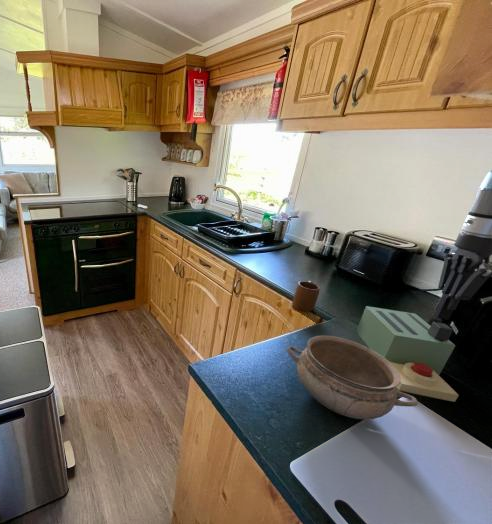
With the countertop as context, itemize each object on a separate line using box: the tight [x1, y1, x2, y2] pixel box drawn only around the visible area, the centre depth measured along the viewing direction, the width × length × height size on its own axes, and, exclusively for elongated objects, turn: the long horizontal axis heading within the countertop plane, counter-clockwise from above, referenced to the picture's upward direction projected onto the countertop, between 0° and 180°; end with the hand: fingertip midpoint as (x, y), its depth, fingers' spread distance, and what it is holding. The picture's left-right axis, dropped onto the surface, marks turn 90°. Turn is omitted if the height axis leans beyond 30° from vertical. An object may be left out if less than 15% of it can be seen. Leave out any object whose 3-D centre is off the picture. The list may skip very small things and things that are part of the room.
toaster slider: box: [428, 321, 454, 341], centre depth 79 cm, size 3×3×4 cm
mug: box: [291, 280, 321, 312], centre depth 112 cm, size 12×8×9 cm, turn 145°
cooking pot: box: [286, 335, 419, 420], centre depth 66 cm, size 25×19×12 cm
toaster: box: [355, 305, 456, 376], centre depth 87 cm, size 14×17×10 cm
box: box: [390, 362, 460, 403], centre depth 75 cm, size 12×9×4 cm
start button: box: [412, 363, 433, 377], centre depth 74 cm, size 4×4×2 cm
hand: (441, 317), depth 79 cm, fingers closed
